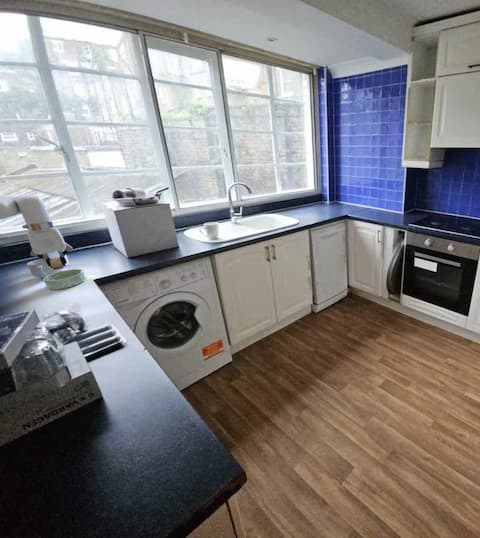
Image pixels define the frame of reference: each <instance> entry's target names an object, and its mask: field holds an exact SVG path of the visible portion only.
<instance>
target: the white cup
mask: <svg viewBox="0 0 480 538" xmlns="http://www.w3.org/2000/svg"><path fill="white" fill-rule="evenodd" d="M63 251H64V250H63ZM47 254H48V257H49V258H54V257H60V255H59V253H58V252H52V253H47ZM64 257H65V259H66V261H67V263H66V265H65V266H64V267H66V266H68V265H70V261H69V259H68V256H67V254H66V255H65V256H64Z"/></svg>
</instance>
